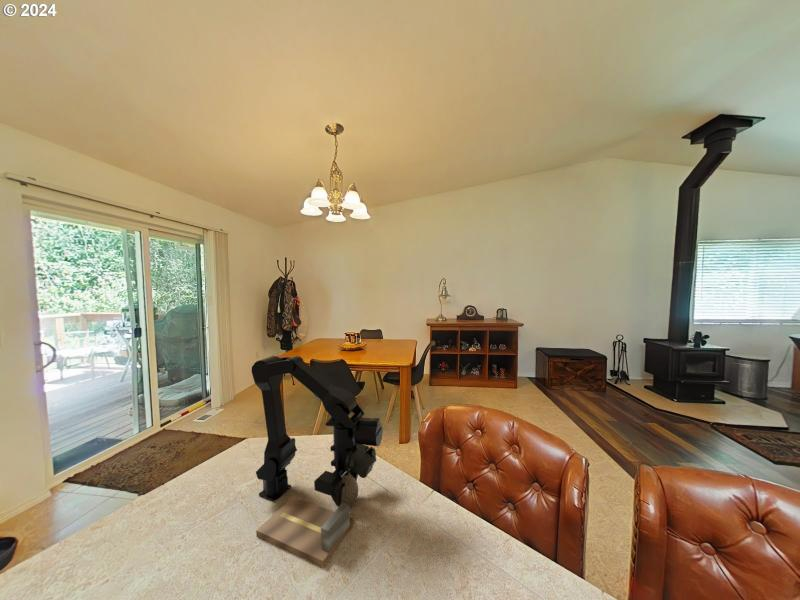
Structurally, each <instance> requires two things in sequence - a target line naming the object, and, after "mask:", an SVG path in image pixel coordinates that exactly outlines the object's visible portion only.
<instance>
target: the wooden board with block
mask: <svg viewBox="0 0 800 600" xmlns="http://www.w3.org/2000/svg"><path fill="white" fill-rule="evenodd" d="M354 526H355V518H354V517H351V515H350V508H349V505H348V504H345V503H342V504H341V505H340V506H339V507H338V506H337V509H336V510H335V511H334V510H331V509H328V508H325V507H323V506H320V505H317V504H315V503H312V502H309V501H306V500H304V499H301V498H299V497H296V496H292V497H291V498H290V499H289V500H288V501H287V502H286V503H284V504H283V505H282V506H281V507H280V508H279V509H278V510H277V511H276V512H275V513H274V514H273V515H272V516H270V517H269V518H268V519H267V520H266V521H265V522H263V524H261V525H260V526H259V527H258V528H257V529H256V530H255V536H256V537H257V538H259V539H261V540H263V541H266V542H267V543H268V544H269V543H270V544H272V545H274V546H277V547H279V548H280V549H283V550H284V551H287V552H289V553H291V554H293V555H296V556H297V557H300V558H301V559H303V560H306V561H308V562H310V563H312V564H315V565H316V566H319V567H321V568H323V569H324V567H325V566H326V565H327V563H328V562H329V560H330V559H331V558H332V557H333V556H334V554H335V552H336V551H337V550H338V548H339V547H340V545H341V544H342V543H343V541H344V540H345V538H346V537H347V536H348V535H349V533H350V532H351V531H352V529H353V527H354Z"/></svg>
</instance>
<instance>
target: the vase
mask: <svg viewBox="0 0 800 600" xmlns="http://www.w3.org/2000/svg"><path fill="white" fill-rule="evenodd" d="M342 479H343V483H344V484H346V485H345V486H344V487H343V488H342V490H341V503H340V505H341V504H342V503H345V504H348V505H349V509H350V508H352V507H353V506H354V505H355V504H356V502H357V499H358V496H359V484H358V482H357V481H356V479H355V478H354V477H353V476H352V475H351V474H350V472H346V473H345V474H344V475H343V476H342ZM338 507H339V506H337V508H338Z"/></svg>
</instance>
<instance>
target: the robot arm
mask: <svg viewBox="0 0 800 600" xmlns="http://www.w3.org/2000/svg"><path fill="white" fill-rule="evenodd" d="M286 374H290V376H292V377H294V379H296V381H298V382H299V383H300V384H301V385H303V386H304V387H305V388H306V389H307V390H309V391H310V392H311V393H312V394H313V395H315V396H316V397H317V398H318V399H319V400H320V402H321V404H322V405H323V408H324V410H325V411H326V412H327V414H328V415H329V416H330V418H329V419H328V421H326V423H325V426H328V427H332V428H333V429H332V430H333V432H332V433H333V444H332V445H331V446H330V448H329V449H330V452H333V459H332V460H331V461H330V466H332V467H334V468H335V470H334V471H333V472H331V471H328V470H325V471H324V472H323V473H321V475H319V476H318V477H317V478H316V479H314V484H313V485H314V486H313V487H314V488H313V489H314V491H316V492H319V493H322V494H324V495H327V496H330V497H331V498H332V501H333V503H334V504H335V506H336V507H338V506H340V503H341V490H342V488H343V487H344V486H345V485H346V484H344V483H343V479H342V476H343V475H344V474H345V473H346V472H350V474H351V475H352V476H353V477H354V478H355V479H356V481H357V480H358V476H359V478H362V479H365V478H367V477H368V475H369V474H370V473H371V472H372V471H373V468H374V464H375V463H376V462H377V456H376V455H377V452H376V448H375V447H380V445H381V444H382V443H381V442H382V439H383V430H384V428H383V426H382V425H383V424H382V423H381V422H380V418H379V417H373V418H372V417H364V416H365V412H364V410H363V409H362V407H361V406H360V405H359V404H358V402H357V398H356V396H355V394H353V393H351V392H350V391H349V390H347V389H345V388H343V387H339V386H335V385H334V384H332V383H331V382H330V381H328V380H327V379H326V378H325V377H324V376H323V375H321V374H320V373H319V372H318V371H316V370H315V369H314V368H313V367H311V366H310V365H309V363H306V361H304V359H303V358H302V357H301V356H299V355H295V356H283V357H279V356H278V355H271V356H269V357H265V358H262V359H260V360H257V361H256V362H254V363H253V365H252V366H251V375H252V379H253V381H254V384H255V385H256V386H257V388H258V389H259V390H260V391H261V397H262V404H263V410H264V411H263V412H264V419H265V427H266V432H267V443H266V446H265V448H264V453H263V464H262V465H261V466H260V467H259V468H258V469H257V470H256V471H255V474H256V478H257V480H260V481H261V480H262V488H263V489H262V491H260V492H258V496H259V497H261V498H264V499H266V500H268V501H272V502H277V500H279V499H280V498H281V497H282V496H283V495H284V494H286V493H287V492H288V491H290V489H291V488H292V484H289V478H288V470H287V469H286V468H287V467H288V466H289V465H290V464H291V462H292V461H293V459H294V458H295V457H296V452H298V449H297V446H296V438H295V437H292V438H291V437H290V436H289V435H288V434H287V428H286V422H285V413H284V405H283V399H282V398H283V397H282V391H281V383H282V381H283V379H284V378H283V377H284V375H286ZM352 413H353V415H352V416H351V417H350V415H351V414H352ZM369 446H370V447H369Z"/></svg>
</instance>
